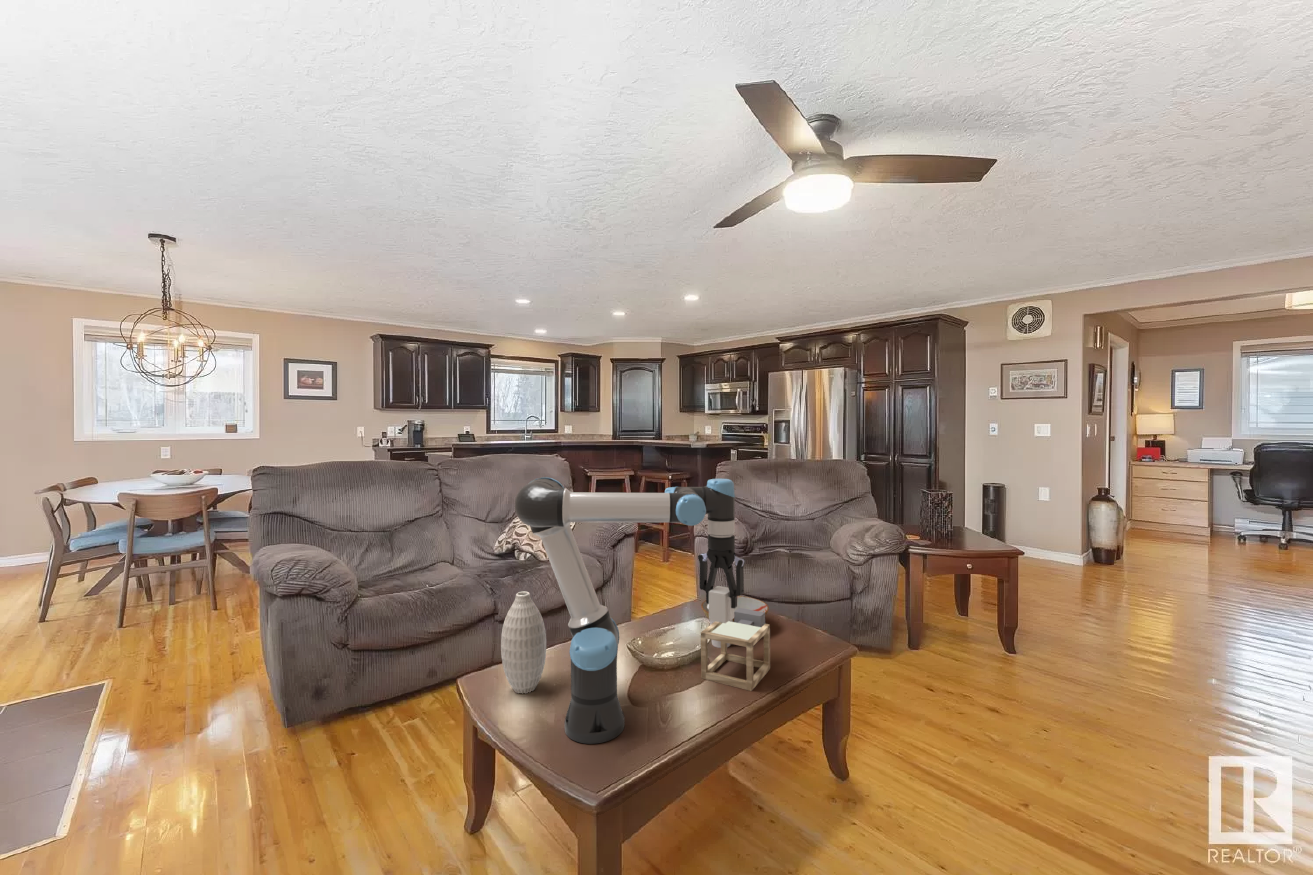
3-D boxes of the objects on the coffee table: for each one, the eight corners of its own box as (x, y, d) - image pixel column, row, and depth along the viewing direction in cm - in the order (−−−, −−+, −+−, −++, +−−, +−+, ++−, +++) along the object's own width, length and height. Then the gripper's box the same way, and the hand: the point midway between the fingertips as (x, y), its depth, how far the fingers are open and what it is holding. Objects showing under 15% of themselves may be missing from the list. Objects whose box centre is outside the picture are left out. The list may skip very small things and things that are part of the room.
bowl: (698, 638, 196) (698, 616, 196) (704, 613, 221) (703, 593, 221) (770, 642, 192) (770, 619, 192) (767, 616, 217) (767, 596, 217)
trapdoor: (747, 650, 160) (747, 633, 160) (709, 642, 166) (709, 626, 166) (769, 628, 177) (769, 613, 177) (734, 621, 183) (734, 607, 183)
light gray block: (725, 623, 150) (725, 594, 150) (708, 620, 153) (708, 591, 153) (734, 616, 156) (734, 588, 155) (717, 613, 158) (717, 585, 158)
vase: (493, 689, 161) (491, 593, 160) (530, 674, 170) (528, 583, 169) (518, 704, 152) (516, 603, 151) (555, 687, 161) (554, 592, 160)
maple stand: (751, 691, 158) (751, 642, 157) (701, 678, 166) (700, 632, 166) (770, 668, 172) (769, 624, 171) (722, 658, 180) (722, 615, 179)
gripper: (756, 535, 152) (757, 618, 153) (698, 529, 161) (698, 607, 162) (746, 540, 146) (746, 627, 146) (686, 533, 155) (686, 615, 156)
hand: (721, 616), depth 154 cm, fingers closed on light gray block, 5 cm apart
